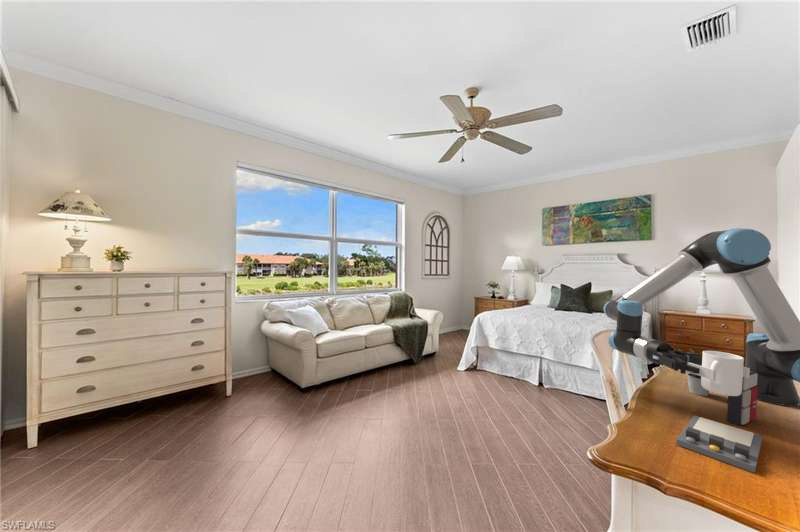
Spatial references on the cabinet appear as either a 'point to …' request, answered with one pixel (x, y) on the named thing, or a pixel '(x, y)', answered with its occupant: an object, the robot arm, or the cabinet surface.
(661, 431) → the cabinet surface
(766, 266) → the robot arm
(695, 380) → the house plant
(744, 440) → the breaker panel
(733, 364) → the mug
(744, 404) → the dark grey box
